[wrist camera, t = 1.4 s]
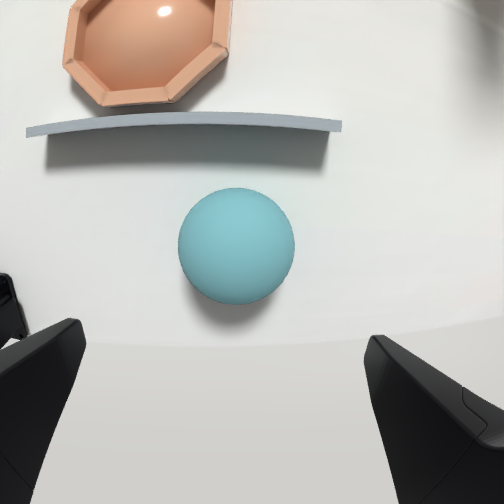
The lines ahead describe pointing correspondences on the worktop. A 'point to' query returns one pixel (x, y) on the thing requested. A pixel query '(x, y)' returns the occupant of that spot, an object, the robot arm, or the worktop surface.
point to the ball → (236, 246)
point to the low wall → (188, 121)
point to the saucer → (144, 47)
